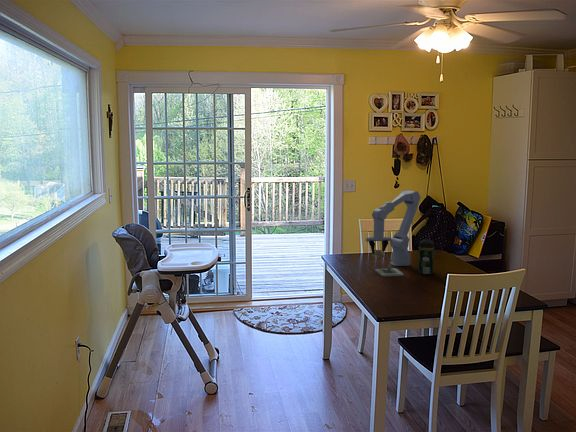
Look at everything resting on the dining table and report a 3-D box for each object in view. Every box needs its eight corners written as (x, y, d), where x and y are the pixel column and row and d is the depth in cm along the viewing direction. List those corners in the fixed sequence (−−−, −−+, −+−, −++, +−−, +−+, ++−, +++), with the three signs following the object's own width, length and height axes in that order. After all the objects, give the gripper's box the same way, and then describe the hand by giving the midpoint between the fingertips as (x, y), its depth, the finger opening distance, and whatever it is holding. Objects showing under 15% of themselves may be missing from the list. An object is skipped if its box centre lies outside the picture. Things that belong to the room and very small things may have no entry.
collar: (380, 254, 294) (381, 249, 294) (383, 257, 289) (384, 251, 289) (372, 255, 294) (372, 250, 293) (374, 257, 288) (375, 252, 288)
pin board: (395, 270, 288) (396, 261, 288) (403, 275, 277) (404, 266, 276) (375, 270, 287) (375, 262, 286) (382, 276, 275) (382, 267, 274)
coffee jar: (418, 270, 288) (420, 237, 286) (433, 271, 286) (435, 238, 283) (416, 274, 279) (418, 241, 277) (432, 275, 277) (433, 242, 274)
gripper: (368, 231, 284) (367, 255, 286) (393, 231, 286) (392, 254, 288) (364, 229, 291) (364, 252, 293) (389, 228, 293) (388, 252, 295)
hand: (378, 253), depth 291 cm, fingers closed on collar, 5 cm apart
